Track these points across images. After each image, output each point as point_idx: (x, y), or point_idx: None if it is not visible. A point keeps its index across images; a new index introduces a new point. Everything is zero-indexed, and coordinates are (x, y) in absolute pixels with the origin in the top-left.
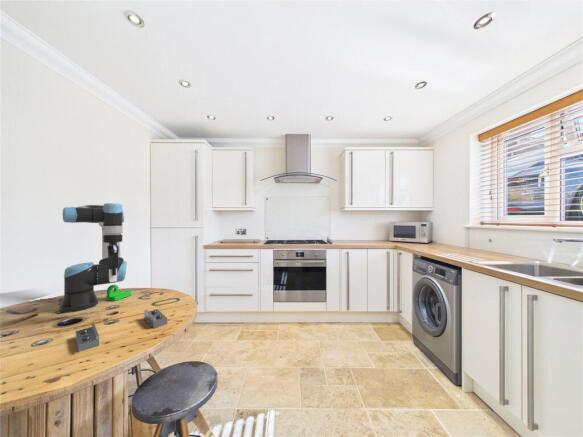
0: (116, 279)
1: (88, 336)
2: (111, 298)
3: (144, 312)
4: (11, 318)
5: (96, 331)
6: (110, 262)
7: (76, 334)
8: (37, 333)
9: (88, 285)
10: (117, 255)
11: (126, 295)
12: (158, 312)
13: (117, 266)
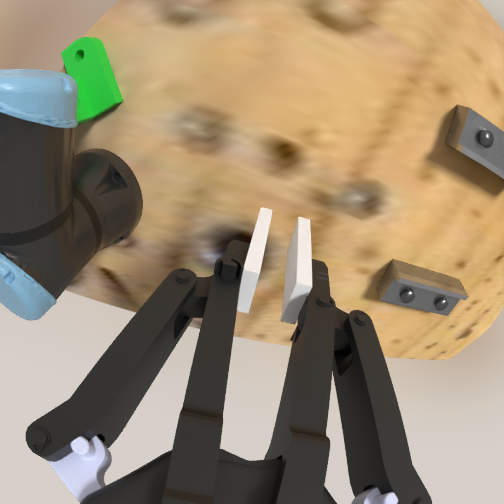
0: (308, 229)
1: (445, 303)
2: (105, 110)
3: (458, 150)
4: (101, 296)
5: (449, 292)
6: (287, 375)
7: (400, 305)
8: (252, 309)
9: (77, 220)
10: (401, 441)
11: (105, 57)
12: (494, 132)
13: (370, 326)
